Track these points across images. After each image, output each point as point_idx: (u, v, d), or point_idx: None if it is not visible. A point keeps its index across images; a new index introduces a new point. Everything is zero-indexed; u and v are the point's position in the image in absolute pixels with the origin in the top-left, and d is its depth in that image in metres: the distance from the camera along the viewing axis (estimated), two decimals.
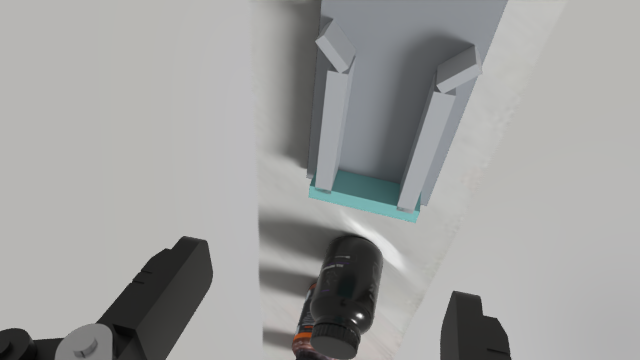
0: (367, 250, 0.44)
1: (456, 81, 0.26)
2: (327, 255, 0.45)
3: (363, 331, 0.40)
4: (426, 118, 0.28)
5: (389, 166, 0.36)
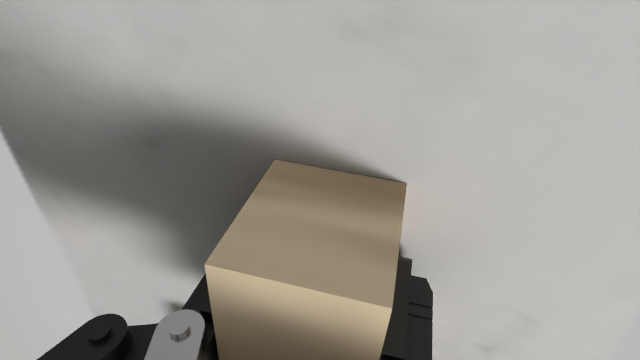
0: None
1: None
2: None
3: None
4: None
5: None
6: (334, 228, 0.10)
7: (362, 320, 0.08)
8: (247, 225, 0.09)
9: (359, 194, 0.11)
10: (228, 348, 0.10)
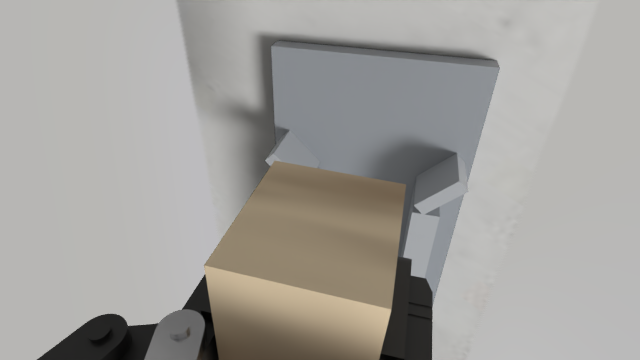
0: None
1: (437, 201, 0.21)
2: None
3: None
4: (407, 241, 0.23)
5: None
6: (333, 230, 0.10)
7: (362, 320, 0.08)
8: (247, 226, 0.09)
9: (358, 195, 0.11)
10: (228, 349, 0.10)
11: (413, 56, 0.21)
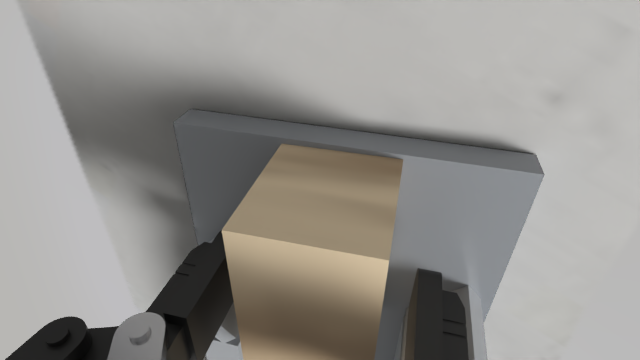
0: None
1: None
2: None
3: None
4: None
5: None
6: (337, 198, 0.11)
7: (363, 273, 0.09)
8: (258, 198, 0.10)
9: (359, 170, 0.12)
10: (245, 312, 0.11)
11: (398, 146, 0.13)
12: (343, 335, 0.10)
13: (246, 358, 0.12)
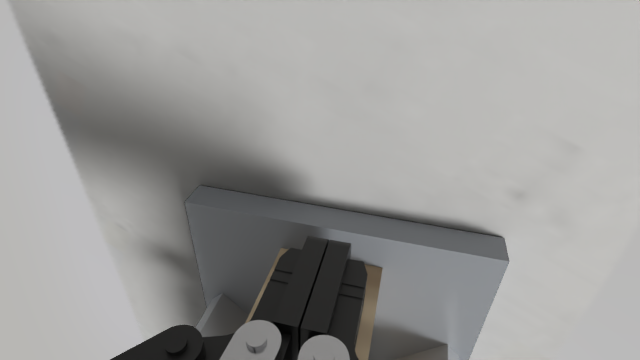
0: None
1: None
2: None
3: None
4: None
5: None
6: None
7: None
8: None
9: None
10: None
11: (384, 229, 0.14)
12: None
13: None
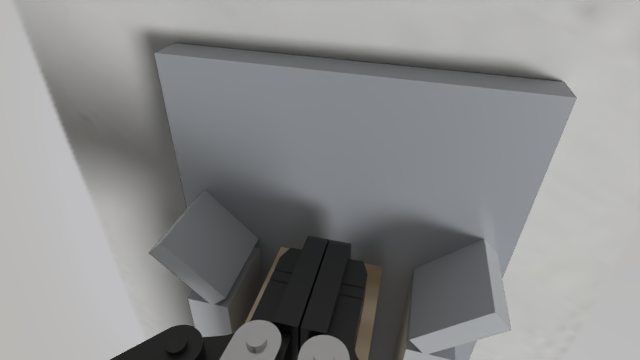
0: None
1: (452, 338, 0.11)
2: None
3: None
4: None
5: None
6: None
7: None
8: None
9: None
10: None
11: (408, 73, 0.11)
12: None
13: None
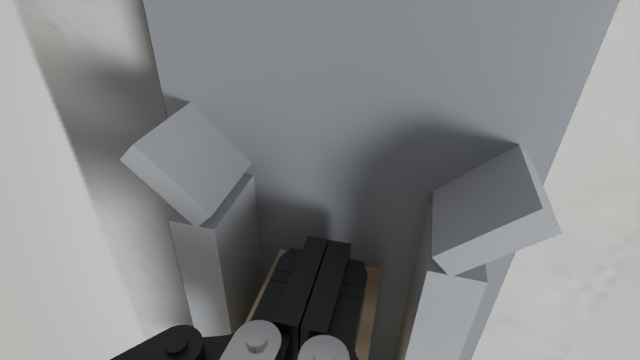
0: None
1: (485, 250, 0.09)
2: None
3: None
4: (416, 323, 0.11)
5: None
6: None
7: None
8: None
9: None
10: None
11: None
12: None
13: None
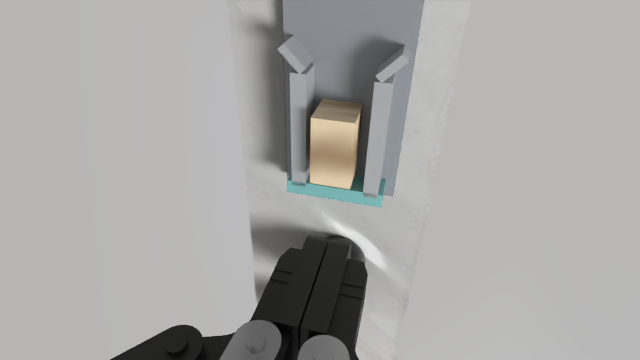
0: None
1: (390, 71, 0.32)
2: None
3: None
4: (372, 106, 0.34)
5: None
6: (341, 112, 0.36)
7: (348, 128, 0.34)
8: (319, 111, 0.36)
9: (348, 106, 0.37)
10: (313, 147, 0.36)
11: None
12: (343, 152, 0.36)
13: (311, 168, 0.38)
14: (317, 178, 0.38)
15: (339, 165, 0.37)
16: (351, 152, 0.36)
